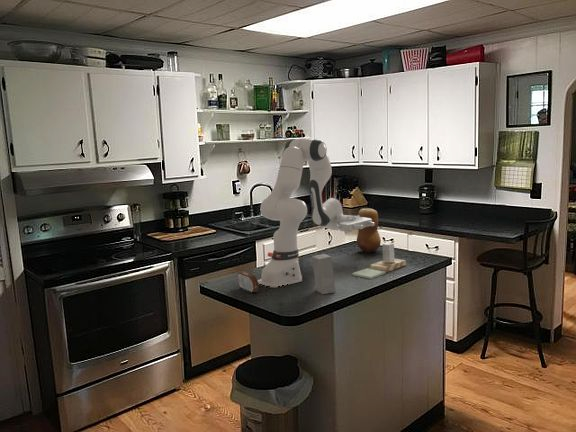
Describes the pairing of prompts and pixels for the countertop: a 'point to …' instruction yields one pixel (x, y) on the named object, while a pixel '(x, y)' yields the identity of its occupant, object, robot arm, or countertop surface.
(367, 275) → the green mat
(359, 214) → the butternut squash
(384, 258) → the white rectangular block
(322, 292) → the skincare box
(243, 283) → the brown white rounded block
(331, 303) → the countertop surface
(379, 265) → the plane body
